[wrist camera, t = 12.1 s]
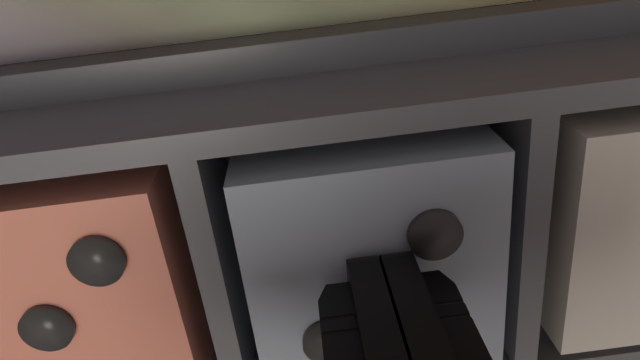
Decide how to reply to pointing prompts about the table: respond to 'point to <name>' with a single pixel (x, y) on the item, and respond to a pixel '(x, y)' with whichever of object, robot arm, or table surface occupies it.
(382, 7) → the table surface
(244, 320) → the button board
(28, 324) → the coral tile
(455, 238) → the slate tile
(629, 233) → the ivory tile
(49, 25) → the table surface
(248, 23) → the table surface
